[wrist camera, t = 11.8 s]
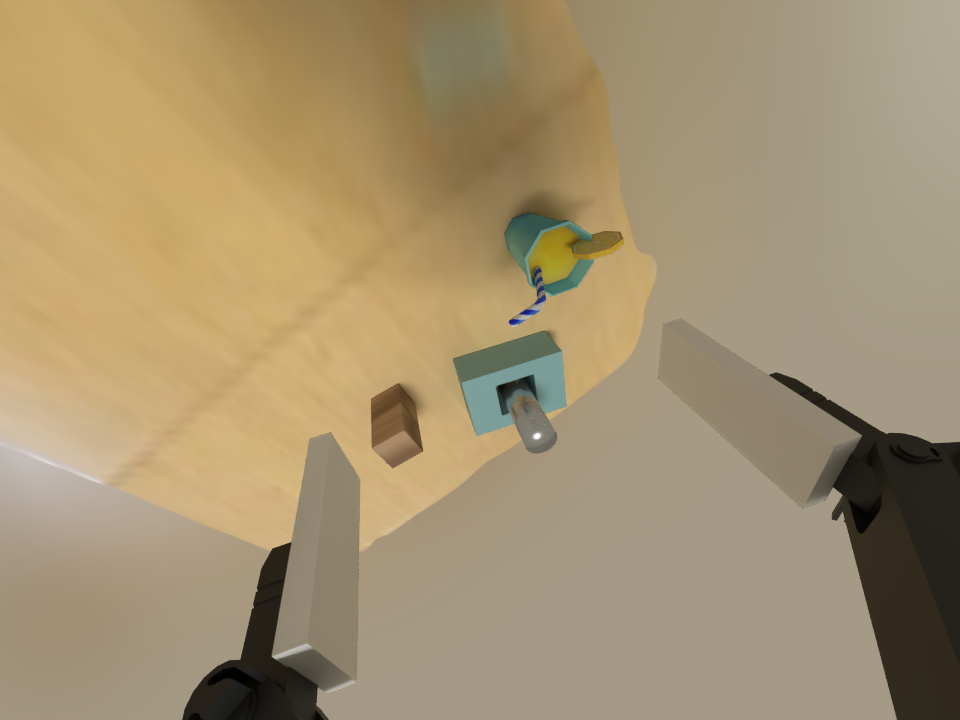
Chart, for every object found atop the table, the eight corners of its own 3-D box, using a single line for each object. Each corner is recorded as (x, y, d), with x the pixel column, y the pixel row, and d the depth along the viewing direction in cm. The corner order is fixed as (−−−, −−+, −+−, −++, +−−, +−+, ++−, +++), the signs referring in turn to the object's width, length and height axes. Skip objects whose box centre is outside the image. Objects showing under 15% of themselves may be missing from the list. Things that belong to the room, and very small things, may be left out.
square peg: (371, 398, 54) (371, 448, 46) (398, 383, 54) (403, 430, 45) (389, 418, 56) (392, 468, 48) (414, 403, 56) (423, 451, 48)
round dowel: (490, 365, 56) (523, 434, 44) (515, 357, 56) (556, 424, 44) (494, 385, 58) (527, 457, 46) (518, 378, 59) (558, 447, 46)
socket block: (452, 359, 54) (461, 382, 49) (544, 330, 55) (562, 351, 50) (467, 410, 59) (476, 436, 54) (550, 383, 61) (566, 406, 56)
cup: (493, 297, 50) (534, 354, 38) (457, 254, 46) (490, 301, 34) (578, 226, 48) (651, 262, 36) (548, 174, 44) (619, 194, 32)
